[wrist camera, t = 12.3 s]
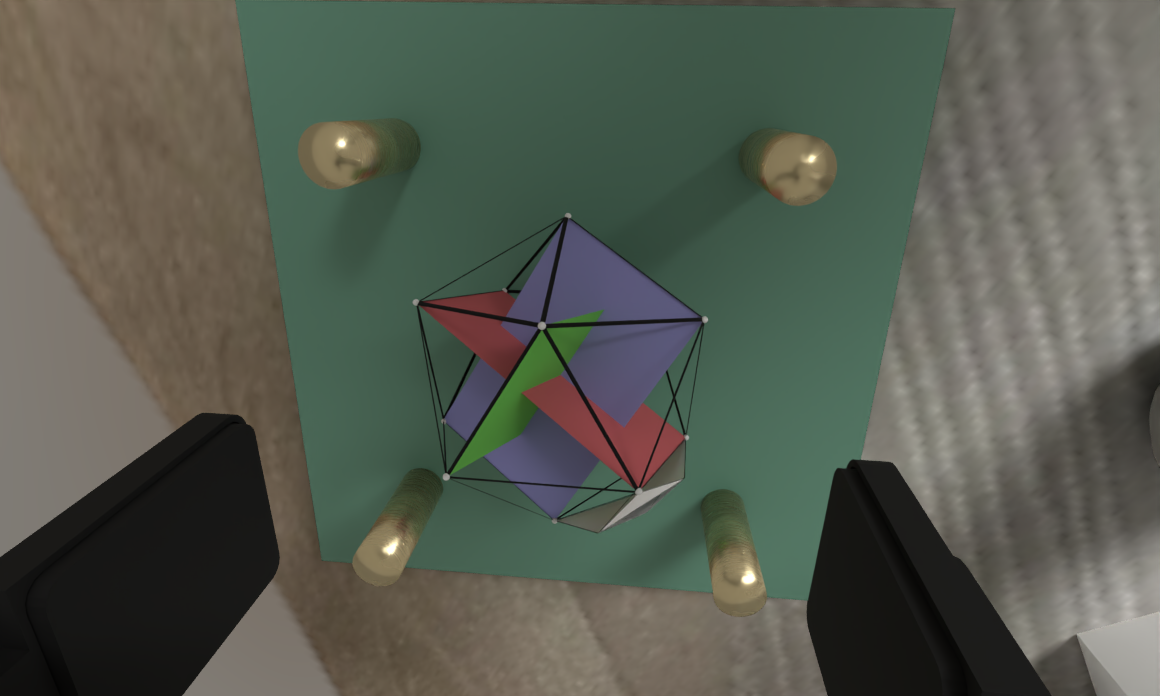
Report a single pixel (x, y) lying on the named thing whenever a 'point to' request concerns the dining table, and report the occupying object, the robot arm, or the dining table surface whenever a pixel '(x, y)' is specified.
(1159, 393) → the plastic bottle
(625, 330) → the geometric puzzle
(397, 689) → the dining table surface
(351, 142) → the brass standoffs
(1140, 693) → the white u-channel brackets
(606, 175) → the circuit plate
